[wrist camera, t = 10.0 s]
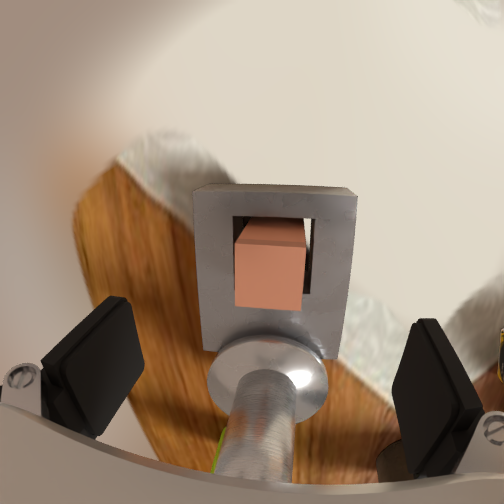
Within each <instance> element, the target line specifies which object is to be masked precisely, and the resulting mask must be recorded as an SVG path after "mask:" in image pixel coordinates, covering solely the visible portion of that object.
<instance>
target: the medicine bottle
mask: <svg viewBox="0 0 504 504" xmlns="http://www.w3.org/2000/svg"><path fill="white" fill-rule="evenodd" d="M497 375H498V377H499V379H500V380H501V382H502V383H503V385H504V328H503V329H501V332H500V350H499V361H498V371H497Z"/></svg>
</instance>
